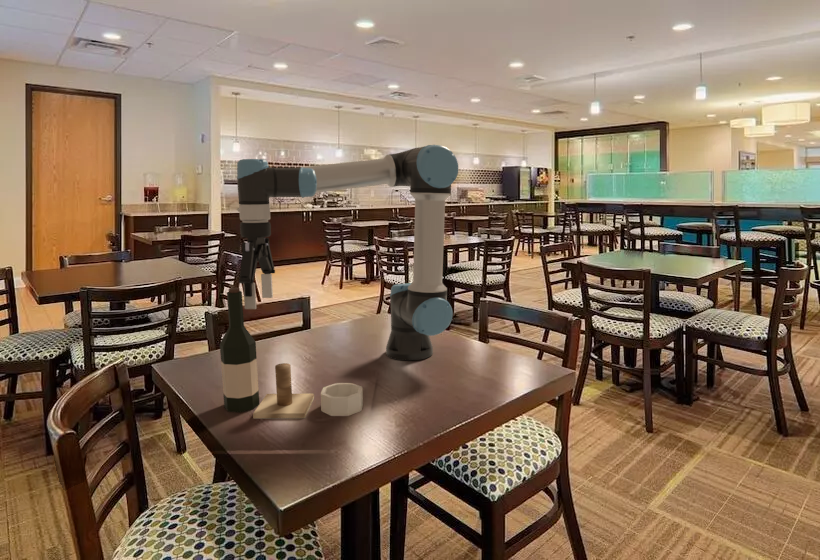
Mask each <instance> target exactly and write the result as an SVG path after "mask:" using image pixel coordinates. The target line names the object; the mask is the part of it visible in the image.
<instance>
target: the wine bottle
mask: <svg viewBox="0 0 820 560" xmlns="http://www.w3.org/2000/svg"><path fill="white" fill-rule="evenodd" d="M226 298H227V299H226V301H227V313H228V316H227V317H228V328H227V330H226V332H225V334H224V335H223V337H222V339H221V340H220V342H219V352H220V353H219V355H220V365H221V366H220V368H221V377H222V381H221V382H222V393H223V405H224V408H225V410H226V411H227V412H228V413H238V414H239V413H240V414H241V413H245V412H248V411H252V410H253V411H254V410H255V409H257V407H258V406H259V404H260V392H259V377H258V376H259V375H258V359H257V344H256V340H255V339H254V338H253V336H252V334H251V333H250V332H249V331H248V329H247V328H246V326H245V321H244V320H245V319H244V307H243V305H244V304H243V292H242V291H241V289H240V287H230V288H228V291H227V292H226Z"/></svg>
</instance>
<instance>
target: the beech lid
mask: <svg viewBox="0 0 820 560" xmlns="http://www.w3.org/2000/svg"><path fill="white" fill-rule="evenodd" d="M274 367H275V368H274V369H275V386H276V387H275V388H276V393H266V394H265V396H264V398H263V399H262V401H260V402H259V405H258V406H257V407H256V408H255V409H254V410H253V413H252V417H253V418H278V419H305V418H306V417H307V415H306V414H308V413H309V411H310V408H311V406H312V404H313V402H312V401H314V400H313V399H315V393H293V390H292V389H293V388H292V369H291V367H292V366H291V364H290V363H288V362H287V363H283V362H282V363H277V364H276V365H275V366H274ZM305 416H306V417H305ZM253 418H252V419H253Z"/></svg>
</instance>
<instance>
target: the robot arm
mask: <svg viewBox="0 0 820 560" xmlns="http://www.w3.org/2000/svg"><path fill="white" fill-rule="evenodd" d="M236 163H237V164H236V168H237V169H236V181H237V184H236V185H237V197H238V208H237V212H239V220H240V221H242V222H240V224H239V232H240V237H241V238H246V239H247V241H246V242H242V244H241V245H242V246H241V248H242V249H241V250H242V253H241V262H240V271H239V279H238V283H239V284H243V299H244V300H243V302H244V304H243V305H244V310H256V309H257V296H256V294H257V293H256V282H254V281H255V277H256V276H255V275H256V270H257V267H258V264H259V267H260V270H261V274H260V277H261V278H260V280H261V281H260V283H261V297H262V298H261V299H273V296H274V294H273V274H276V270H275V264H274V261H273V260H274V259H273V256H272V251H271V247H270V245H271V244H270V238H269V237H271V235H272V230H271V229H272V225H271V222H270V220H271V204H270V198H301V199H302V198H313V197H314V196H315V194H316V193H324V192H333V191H342V190H347V189H349V190H350V189H357V188H358V189H359V188H365V187H373V186H374V187H375V186H380V185H381V186H382V185H387V186H388V187H389V188H390V187H391V188H393V187H394V188H395V187H410V188H409V194H410V195H411V196H412V197H413V199H414V202H415V203H414V233H413V237H414V238H413V267H412V268H413V271H412V272H413V274H412V282H409V283H398V284H393V285H392V286H391V288H390V294H389V297H390V332H389V336H388V339H387V342H386V346H385V347H386V348H385V354H386V356H387V357H388V358H390V359H394V360H397V361H418V360H419V361H420V360H424V359H428V358H429V357H431V356H433V354H434V353H433V352H434V349H433V347H434V346H433V344H432V340H431V336H432V337H433V336H437V335H440V334H442V333H443V332H445V330H446V329H448V327H449V326H450V324H451V322H452V320H453V314H454V312H453V308H452V306H451V304H450V302H449V301H448V299H447V298H448V287H446V285H445V284H444V283H443V269H444V268H443V267H444V265H443V264H444V244H445V241H444V240H445V219H446V217H445V214H446V213H445V211H446V200H447V199H448V198H450V196H451V195H452V184H453V183H454V182H455V181H456V179H457V178H458V175H459V162H458V160H457V157H456V154H455V153H453V151H452V150H451V149H449V148H448V147H446V146H443V145H442V144H441V145H440V144H428V145H425V146H420V147H413V148H411V149H409V150H404V151H400V152H397V153H396V152H395V153H390V154H386V155H385V156H384V157H383V158H376V159H366V160H357V161H348V162H339V163H330V164H328V163H327V164H320V165H310V166H301V167H272V166H269V162H268V160H267V159H264V158H263V159H262V158H242V159H240V160H238V162H236Z"/></svg>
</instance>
